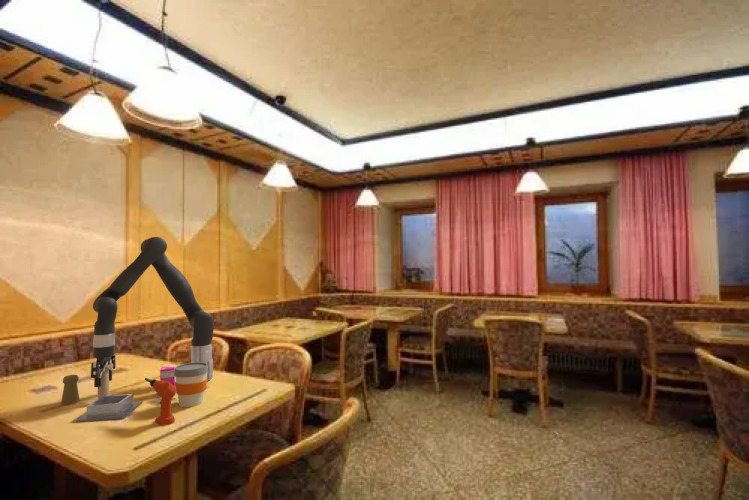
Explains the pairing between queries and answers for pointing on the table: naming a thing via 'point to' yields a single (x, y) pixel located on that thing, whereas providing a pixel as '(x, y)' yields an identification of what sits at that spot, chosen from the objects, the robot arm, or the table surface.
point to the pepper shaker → (70, 390)
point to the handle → (104, 382)
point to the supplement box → (168, 374)
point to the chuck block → (110, 408)
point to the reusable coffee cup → (191, 383)
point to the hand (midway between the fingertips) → (103, 383)
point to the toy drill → (164, 400)
